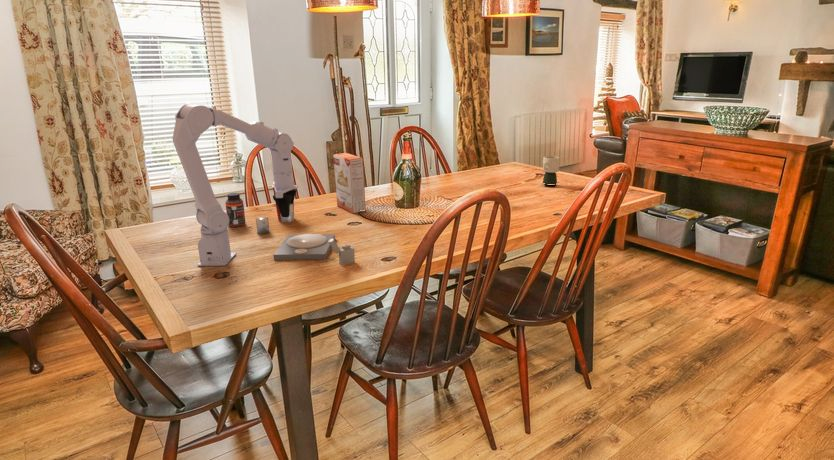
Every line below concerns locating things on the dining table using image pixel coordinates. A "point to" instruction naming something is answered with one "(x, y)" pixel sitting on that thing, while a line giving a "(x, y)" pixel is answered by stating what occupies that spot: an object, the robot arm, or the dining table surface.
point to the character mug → (550, 169)
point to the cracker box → (349, 182)
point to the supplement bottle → (235, 210)
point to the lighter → (343, 252)
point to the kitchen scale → (304, 247)
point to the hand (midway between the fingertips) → (287, 214)
